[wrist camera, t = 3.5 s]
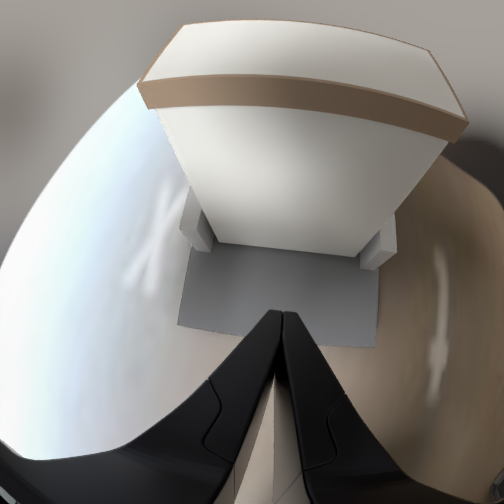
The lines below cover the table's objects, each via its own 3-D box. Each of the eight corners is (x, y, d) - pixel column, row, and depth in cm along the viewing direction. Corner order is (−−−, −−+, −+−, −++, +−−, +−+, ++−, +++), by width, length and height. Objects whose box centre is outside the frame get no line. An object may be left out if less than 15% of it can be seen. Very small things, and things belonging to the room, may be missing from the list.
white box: (356, 259, 13) (469, 122, 4) (216, 243, 14) (136, 85, 5) (356, 203, 14) (429, 50, 5) (227, 190, 15) (182, 24, 6)
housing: (365, 347, 14) (400, 347, 9) (185, 326, 15) (153, 319, 10) (363, 144, 18) (380, 101, 14) (227, 130, 19) (218, 84, 15)
